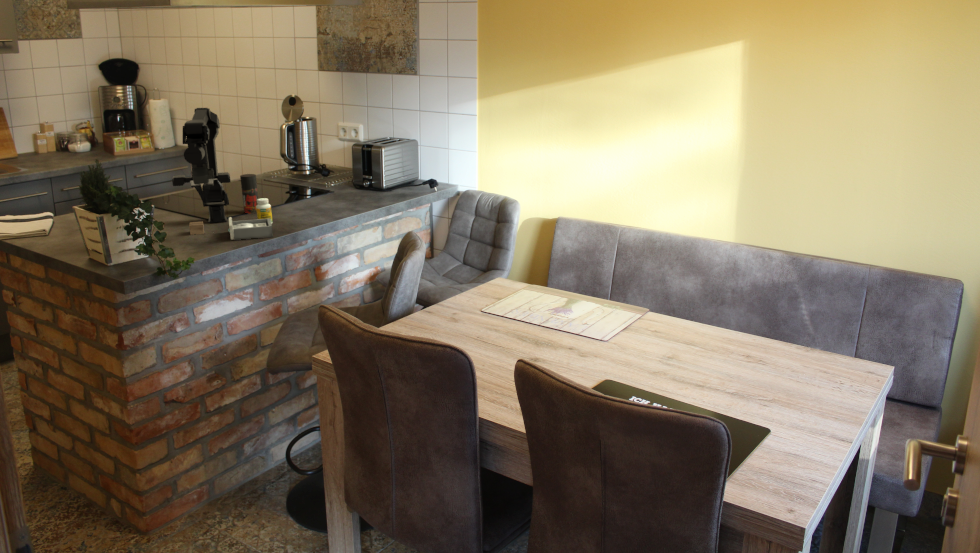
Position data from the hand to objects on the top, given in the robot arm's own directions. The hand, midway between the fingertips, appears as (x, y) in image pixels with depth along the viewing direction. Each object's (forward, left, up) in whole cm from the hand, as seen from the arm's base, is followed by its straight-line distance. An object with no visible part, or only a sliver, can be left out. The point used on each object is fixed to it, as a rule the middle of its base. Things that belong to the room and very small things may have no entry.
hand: (204, 203), depth 256 cm
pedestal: (-6, -4, -12) cm, 14 cm away
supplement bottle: (-11, +20, -12) cm, 26 cm away
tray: (+3, +13, -12) cm, 18 cm away
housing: (+3, +15, -12) cm, 19 cm away
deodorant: (-32, +16, -12) cm, 38 cm away
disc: (+3, +12, -10) cm, 16 cm away
